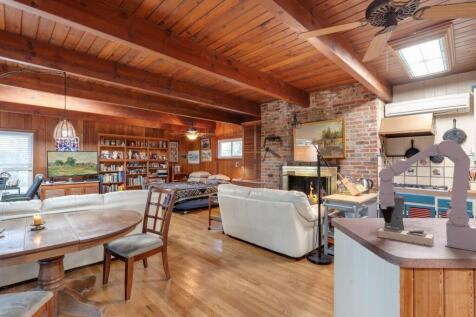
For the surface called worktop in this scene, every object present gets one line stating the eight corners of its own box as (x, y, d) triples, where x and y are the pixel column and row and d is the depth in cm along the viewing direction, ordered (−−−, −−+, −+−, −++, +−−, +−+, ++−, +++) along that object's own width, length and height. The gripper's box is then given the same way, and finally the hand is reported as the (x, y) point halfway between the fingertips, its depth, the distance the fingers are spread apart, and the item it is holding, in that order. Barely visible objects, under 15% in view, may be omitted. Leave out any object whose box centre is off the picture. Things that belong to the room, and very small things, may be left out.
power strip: (433, 241, 104) (433, 234, 104) (432, 245, 99) (431, 237, 99) (381, 233, 118) (381, 226, 118) (377, 236, 113) (377, 229, 113)
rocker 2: (423, 231, 105) (423, 229, 105) (423, 233, 103) (422, 231, 103) (410, 231, 108) (410, 229, 108) (409, 233, 106) (409, 231, 106)
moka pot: (398, 232, 119) (396, 192, 120) (374, 225, 134) (373, 190, 135) (413, 231, 121) (412, 192, 122) (388, 224, 136) (387, 189, 137)
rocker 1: (399, 229, 111) (399, 227, 111) (398, 230, 109) (398, 228, 109) (387, 227, 115) (387, 225, 115) (386, 228, 112) (386, 226, 112)
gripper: (381, 192, 122) (382, 218, 121) (373, 194, 111) (374, 223, 111) (397, 192, 117) (398, 220, 116) (390, 195, 106) (391, 226, 106)
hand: (387, 222), depth 113 cm, fingers closed
